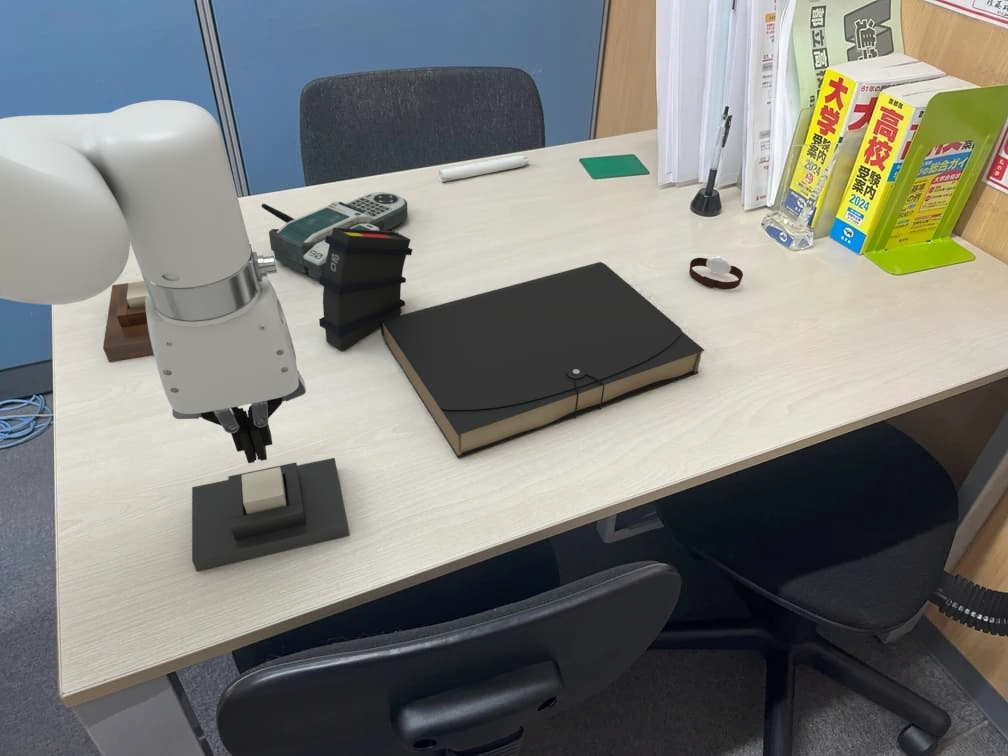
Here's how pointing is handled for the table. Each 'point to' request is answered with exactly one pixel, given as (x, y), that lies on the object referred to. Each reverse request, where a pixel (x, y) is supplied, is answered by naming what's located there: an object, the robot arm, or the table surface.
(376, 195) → the communication device
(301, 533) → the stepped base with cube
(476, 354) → the file folder
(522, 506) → the table surface
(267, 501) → the near key
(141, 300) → the beige switch key
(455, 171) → the marker
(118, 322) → the brown switch frame
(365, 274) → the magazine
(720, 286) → the watch
